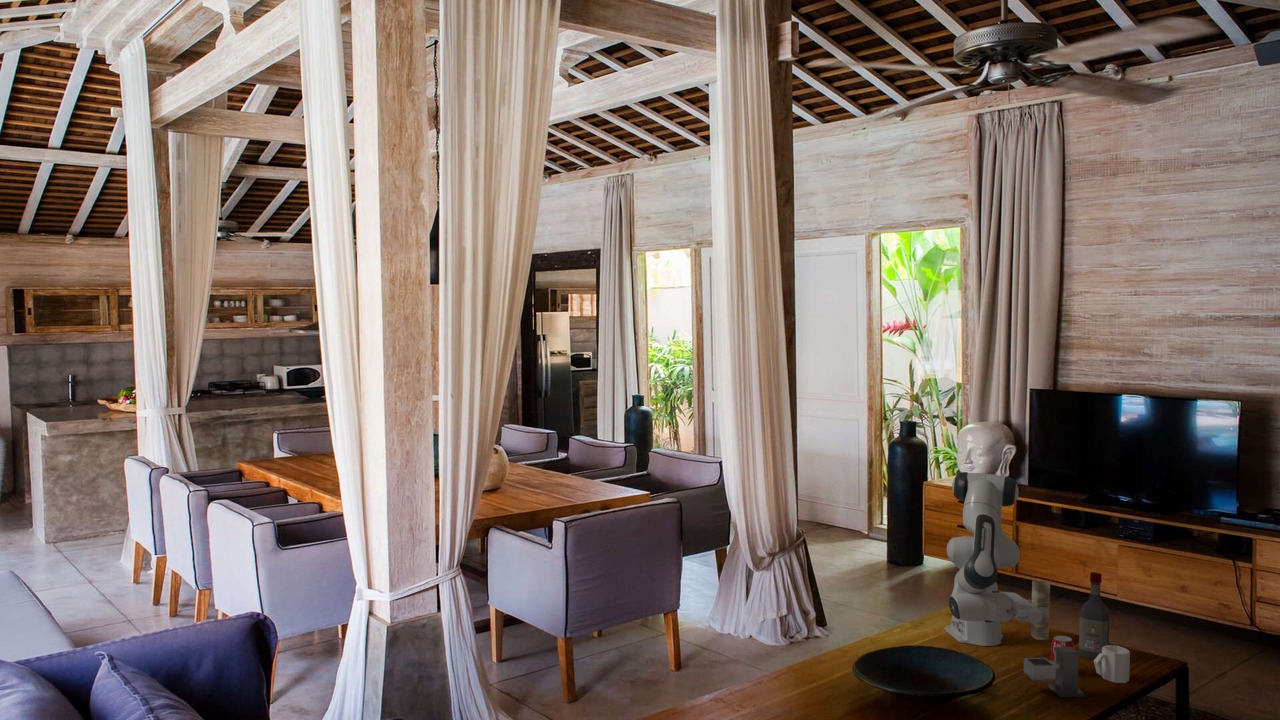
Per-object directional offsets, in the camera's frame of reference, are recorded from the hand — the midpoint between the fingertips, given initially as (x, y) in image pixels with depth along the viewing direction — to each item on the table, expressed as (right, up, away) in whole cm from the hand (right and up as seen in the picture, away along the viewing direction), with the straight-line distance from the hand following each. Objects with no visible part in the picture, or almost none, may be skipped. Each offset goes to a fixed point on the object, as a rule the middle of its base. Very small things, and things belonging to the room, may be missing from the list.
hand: (1043, 607), depth 306 cm
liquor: (+33, -27, +34) cm, 54 cm away
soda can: (+14, -27, +18) cm, 36 cm away
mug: (+28, -28, +13) cm, 42 cm away
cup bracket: (+4, -28, +2) cm, 28 cm away
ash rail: (-1, -10, 0) cm, 10 cm away
